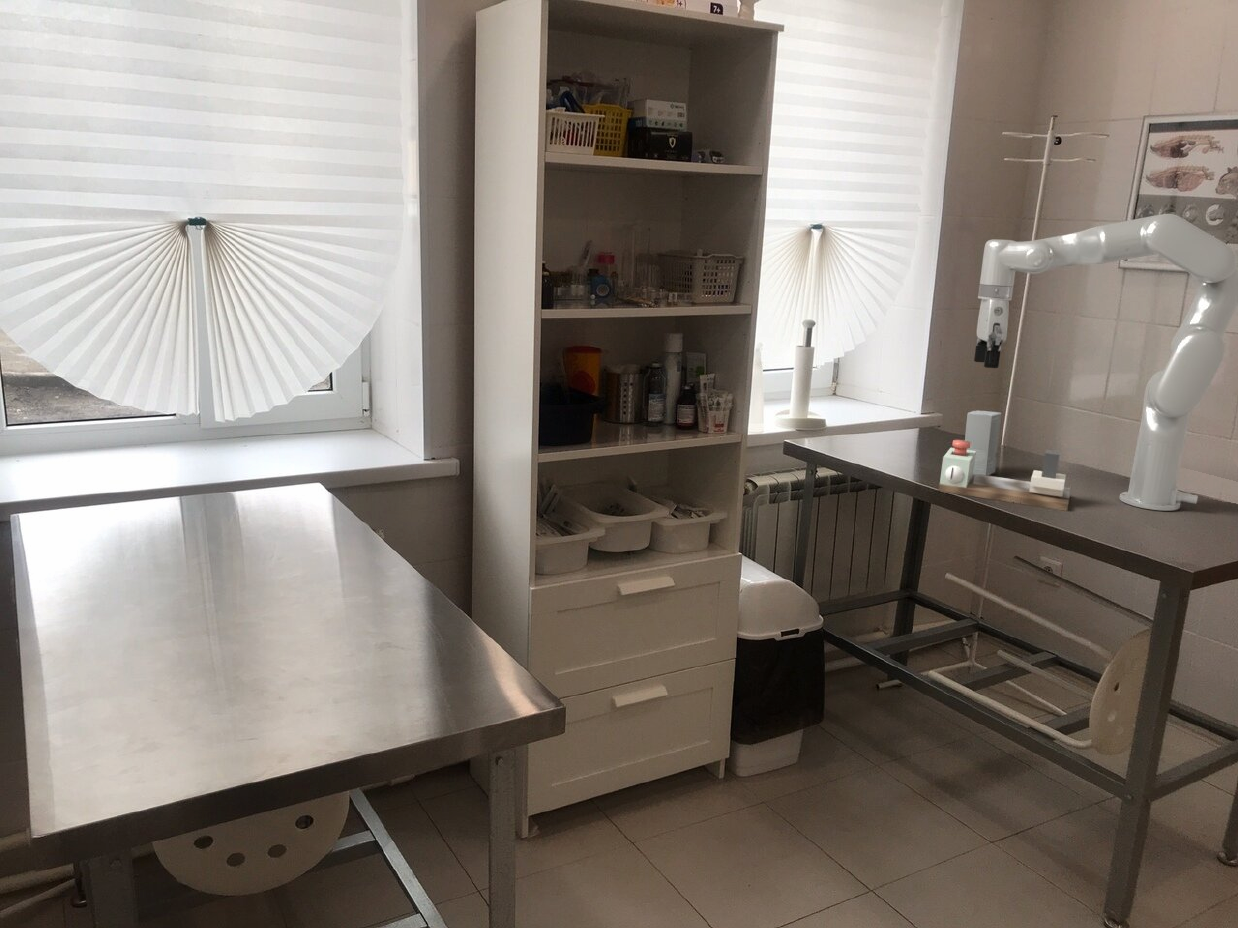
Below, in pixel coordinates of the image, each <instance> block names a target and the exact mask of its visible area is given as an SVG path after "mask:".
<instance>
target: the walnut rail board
mask: <svg viewBox="0 0 1238 928" xmlns="http://www.w3.org/2000/svg"><path fill="white" fill-rule="evenodd" d="M1030 483H1031V481H1026V480H1020V479H1012V478H1007V477H1006V478H1005V477H1000V476H999V477H998V476H993V475H989V476H987V475H981V474H975V475H973V476H972V479H971V480H970V482H969V484H968V486H967V487H966V488H965V487H958V486H952V485H945V484H940V483H939V484H938V489H937V491H939V492H944V493H950V494H957V495H964V496H969V497H977V498H982V499H989V500H995V501H1002V502H1007V503H1013V502H1014V503H1015V504H1020V503H1021V504H1020V505H1027V506H1028V505H1029V506H1032V507H1033V506H1034V507H1040V508H1047V509H1053V510H1059V511H1065V512H1067V511H1068V509H1069V502H1070V496H1071V495H1070V494H1071V490H1072V487H1067V486H1064V489H1063V495H1062V497H1061V496H1054V495H1048V494H1041V493H1034V492H1029V491H1030Z"/></svg>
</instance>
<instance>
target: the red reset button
mask: <svg viewBox="0 0 1238 928" xmlns="http://www.w3.org/2000/svg"><path fill="white" fill-rule="evenodd" d="M952 448H955V449H954V455H958V456H966V452H967V449H968V448H970V442H969V441H965V439H954V440H952Z"/></svg>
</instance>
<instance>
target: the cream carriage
mask: <svg viewBox="0 0 1238 928" xmlns="http://www.w3.org/2000/svg"><path fill="white" fill-rule="evenodd" d="M1060 455H1061V451H1059V450H1058V451H1057V450H1049V449H1046V450H1045V452H1044V457H1043V464H1042V470H1035V469H1033V471H1032V475H1031V479H1030V482H1031V483H1030V491H1029V492H1034V493H1041V494H1048V495H1054V496H1061V497H1062V495H1063V489H1064V487H1065V482H1066V476H1067V474H1063V473H1058V469H1059V468H1058V467H1059V461H1060Z"/></svg>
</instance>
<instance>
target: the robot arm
mask: <svg viewBox="0 0 1238 928" xmlns="http://www.w3.org/2000/svg"><path fill="white" fill-rule="evenodd" d="M1155 255H1159V256H1161V257H1162V258H1164V259H1165V260H1166V261H1168V262H1169V263H1172V264H1173V265H1175V266H1176V267H1178V268H1180V269H1182V270H1183V271H1185V272H1187V273H1188V274H1189V275H1190V276H1191V277H1192V278H1193V279H1194V280H1195V283H1196V292H1195V296H1194V298H1193V301H1192V303H1191V305H1190V307H1189V309H1188V311H1187V313H1186V314H1185V315H1186V316H1185V317H1184V319H1183V320H1182V322H1181V324H1180V327H1179V328H1178V330H1177V332H1176V333H1175V335H1174V336H1173V339H1172V340H1171V343H1170V352H1171V353H1170V354H1171V355H1170V358H1169V360H1168V361H1167V363H1166V365H1165V367H1164V368H1163V369H1161V370H1160V371H1158V372H1155V373H1154V374H1153V375H1152V376H1151V378H1150V379H1149V380H1148V382H1147V383H1146V386H1145V390H1144V395H1143V403H1142V405H1143V406H1142V412H1141V413H1142V414H1141V420H1140V426H1139V432H1138V435H1137V440H1136V447H1135V453H1134V458H1133V463H1132V469H1131V474H1130V477H1129V478H1130V479H1129V485H1128V490H1127V491H1124V492H1121V493H1120V494H1119V500H1120V501H1121V502H1123V503H1124V504H1127V505H1130V506H1133V507H1137V508H1141V509H1147V510H1153V511H1162V512H1165V511H1166V512H1167V511H1169V512H1170V511H1171V512H1172V511H1177V510H1179V509H1180V508H1181V502H1185V503H1187V504H1188V503H1189V504H1197V502H1198V498H1199V496H1198V495H1195V494H1191V493H1190V492H1183V491H1180V490H1178V486H1177V484H1178V478H1179V473H1180V468H1181V464H1182V459H1183V458H1182V457H1183V453H1184V447H1185V443H1186V438H1187V432H1188V426H1189V422H1190V420H1189V419H1190V413H1191V414H1192V412H1194V410H1195V409H1197V407H1199V405H1200V403H1201V401H1202V400H1203V398H1204V397H1205V394H1206V392H1207V391H1208V389H1209V387H1210V385H1211V383H1212V382H1213V380H1214V378H1215V377H1216V376H1215V375H1216V374H1217V372H1218V370H1219V368H1220V366H1221V365H1222V362H1223V359H1224V357H1225V353H1226V344H1225V340H1224V338H1223V337H1224V335H1225V334H1226V331H1227V329H1228V327H1229V326H1230V324H1231V320H1232V319H1233V316H1234V315H1235V313H1236V310H1237V308H1238V266H1237V264H1238V257H1237V254H1236V252H1235V250H1234V249H1233V248H1232V247H1231V246H1230V245H1228V244H1227V243H1225V242H1224V241H1222V240H1221V239H1218V238H1216V237H1215V236H1213V235H1212V234H1210V233H1208V232H1206V231H1205V230H1202V229H1201V228H1199V227H1198V226H1196V225H1194V224H1193V223H1191V222H1190V221H1188V220H1186V219H1184V217H1183V218H1182V217H1181V216H1180V215H1177V214H1174V213H1164V214H1156V215H1151V216H1146V217H1141V218H1140V217H1139V218H1136V219H1135V218H1134V219H1130V220H1129V219H1128V220H1124V221H1119V222H1114V223H1108V224H1103V225H1099V226H1098V225H1097V226H1094V227H1090V228H1087V229H1085V230H1081V231H1078V232H1077V231H1075V232H1072V233H1067V234H1063V235H1057V236H1052V237H1047V238H1041V239H1033V240H1028V241H1025V240H1024V241H1016V240H1012V239H997V238H996V239H995V238H994V239H993V238H992V239H989V240H987V241H986V242H985V245H984V249H983V255H982V263H981V264H982V265H981V273H980V280H979V286H978V294H977V299H979V300H980V299H981V301H980V306H979V312H978V319H977V325H976V337H977V339H976V342H975V343H976V344H975V350H974V357H973V361H974V362H975V363H984V364H983V367H984V368H986V369H987V368H988V369H999V367H1000V366H999V365H1000V359H1001V352H1002V351H1001V350H1002V343H1005V342H1006V340H1007V336H1008V335H1007V334H1008V325H1009V314H1010V311H1009V310H1010V308H1009V307H1010V303H1009V301H1012V300H1013V299H1012V298H1013V292H1014V285H1015V277H1016V272H1022V273H1027V274H1031V275H1035V274H1041V273H1043V272H1046V271H1051V270H1054V269H1061V268H1067V267H1073V266H1079V265H1080V266H1081V265H1103V264H1109V263H1115V262H1120V261H1126V260H1132V259H1137V258H1144V257H1149V256H1155Z"/></svg>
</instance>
